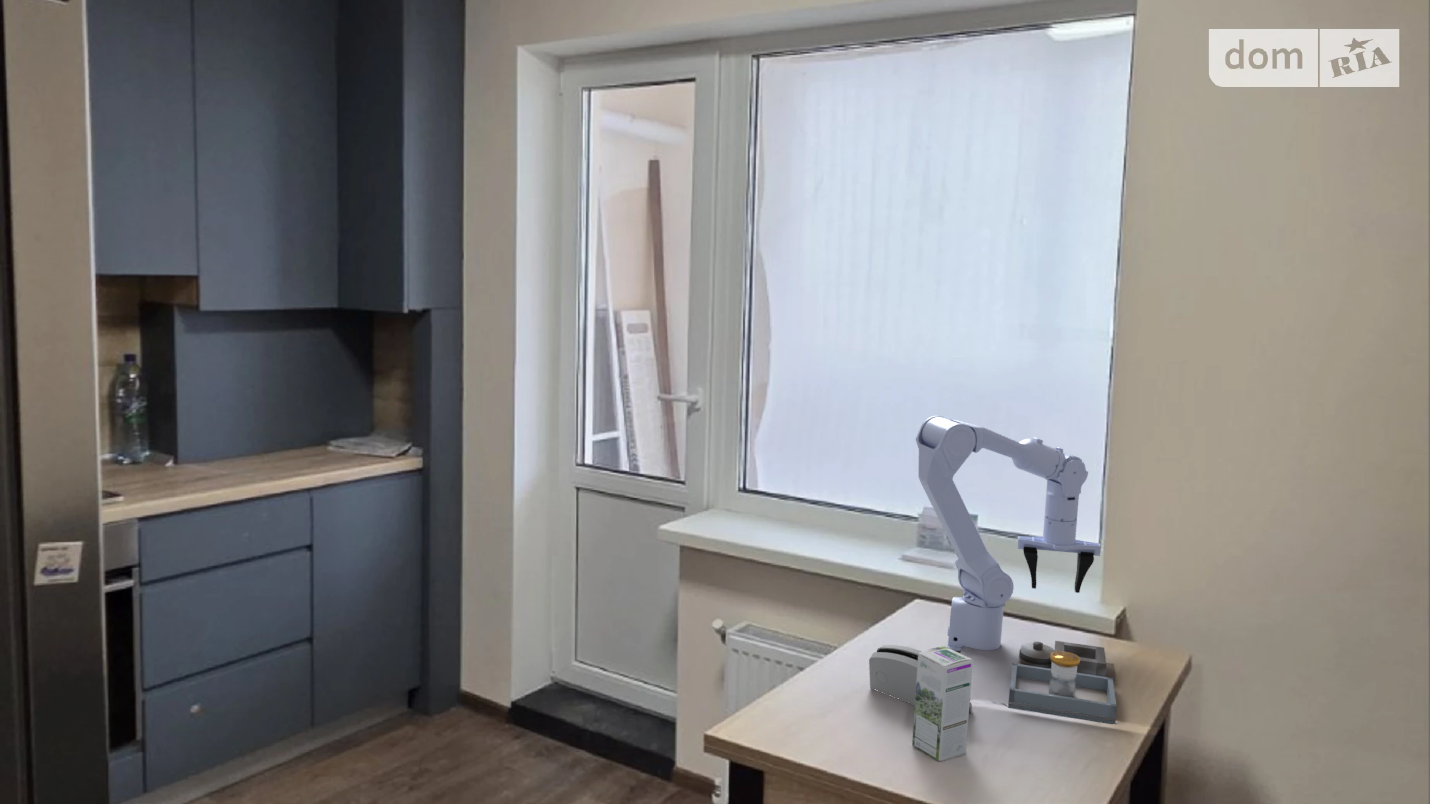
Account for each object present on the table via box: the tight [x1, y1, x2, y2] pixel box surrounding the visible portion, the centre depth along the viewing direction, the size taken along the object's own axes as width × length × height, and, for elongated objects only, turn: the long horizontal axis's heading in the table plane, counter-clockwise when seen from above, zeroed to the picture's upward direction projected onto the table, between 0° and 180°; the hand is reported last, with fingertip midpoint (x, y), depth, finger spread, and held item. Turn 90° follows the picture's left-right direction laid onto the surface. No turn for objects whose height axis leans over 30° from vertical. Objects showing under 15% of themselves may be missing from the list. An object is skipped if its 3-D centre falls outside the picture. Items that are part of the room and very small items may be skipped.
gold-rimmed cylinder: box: [1048, 651, 1080, 698], centre depth 175 cm, size 5×5×7 cm
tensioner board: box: [1017, 640, 1118, 686], centre depth 188 cm, size 16×10×4 cm, turn 73°
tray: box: [1007, 662, 1118, 725], centre depth 175 cm, size 16×12×3 cm
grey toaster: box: [868, 644, 973, 713], centre depth 172 cm, size 17×5×10 cm, turn 46°
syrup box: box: [911, 646, 974, 762], centre depth 155 cm, size 6×6×14 cm
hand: (1055, 589), depth 201 cm, fingers open, 7 cm apart
